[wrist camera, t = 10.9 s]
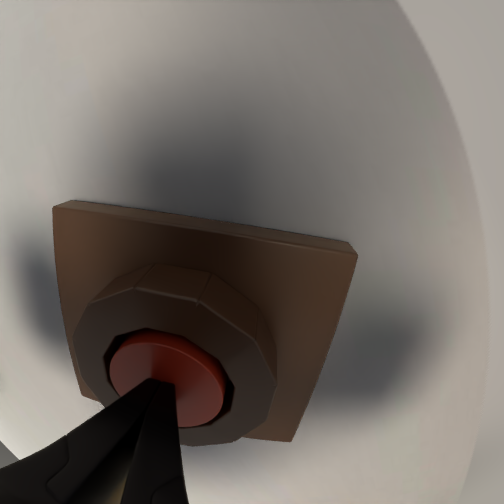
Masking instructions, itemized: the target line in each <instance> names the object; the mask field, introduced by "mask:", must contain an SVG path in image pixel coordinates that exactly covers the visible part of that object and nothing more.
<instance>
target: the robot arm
mask: <svg viewBox="0 0 504 504" xmlns="http://www.w3.org/2000/svg"><path fill="white" fill-rule="evenodd" d="M0 504H189V502H188V497H187V492H186V487H185V480H184V473H183V465H182V457H181V448H180V438H179V428H178V416H177V403H176V389H175V384H174V383H170V382H165V381H162V382H161V381H160V380H157V379H153V378H147V379H145V380H144V381H142V382H141V383H140V384H138V385H137V386H135V387H134V388H133V389H131V390H130V391H128V392H127V393H126V394H124V395H123V396H121V397H120V398H119V399H117V400H116V401H114V402H113V403H111V404H110V405H109V406H107V407H106V408H104V409H103V410H101V411H100V412H99V413H97V414H96V415H94V416H93V417H91V418H90V419H88V420H87V421H85V422H84V423H83V424H81V425H80V426H78V427H77V428H75V429H74V430H72V431H71V432H69V433H68V434H67V436H66V435H64V436H63V437H61V438H60V439H58V440H57V441H55V442H54V443H52V444H50V445H49V446H47V447H45V448H44V449H42V450H40V451H38V452H36V453H34V454H32V455H30V456H28V457H26V458H24V459H21V460H19V461H17V462H15V463H12V464H10V465H8V466H5V467H3V468H1V469H0Z"/></svg>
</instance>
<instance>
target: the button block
mask: <svg viewBox="0 0 504 504" xmlns="http://www.w3.org/2000/svg"><path fill="white" fill-rule="evenodd" d="M52 214H53V238H54V252H55V263H56V273H57V281H58V289H59V296H60V303H61V309H62V315H63V321H64V326H65V331H66V336H67V341H68V345H69V350H70V354H71V358H72V362H73V366H74V370H75V374H76V377H77V381H78V385H79V388H80V391H81V395H82V396H85V397H87V398H90V399H92V400H95V401H98V402H101V404H102V405H103V406H104V407H105V408H106V407H107V406H109V405H110V404H111V403H113V402H114V401H116V400H117V399H119V398H120V395H119V394H118V392H117V391H116V389H115V387H114V385H113V383H112V381H111V377H110V363H111V360H112V358H113V356H114V354H115V353H116V351H117V350H118V348H119V347H120V345H121V344H122V342H123V341H124V340H125V338H126V337H127V335H128V334H129V332H132V331H136V330H140V329H143V328H150V329H154V330H158V331H163V332H167V333H172V334H176V335H181V336H184V337H186V338H187V339H188V340H190V341H191V342H193V343H194V344H196V345H197V346H199V347H200V348H202V349H203V350H205V351H206V352H208V353H209V354H211V355H212V356H214V357H215V358H217V359H218V360H219V361H220V363H221V365H222V366H223V368H224V370H225V371H226V373H227V375H228V378H227V384H226V389H225V394H224V400H223V404H222V408H221V410H220V412H219V413H218V414H217V415H216V416H215V417H214V418H213V419H212V420H210V421H208V422H206V423H204V424H201V425H198V426H192V427H178V428H179V438H180V444H182V445H187V446H205V445H215V444H224V443H232V442H233V441H236V440H238V439H240V438H241V437H245V438H253V439H261V440H271V441H282V442H291V441H292V439H293V437H294V435H295V433H296V430H297V428H298V426H299V424H300V421H301V419H302V417H303V414H304V412H305V410H306V407H307V405H308V403H309V400H310V398H311V395H312V393H313V390H314V388H315V385H316V383H317V380H318V378H319V375H320V372H321V370H322V367H323V364H324V362H325V359H326V356H327V354H328V351H329V348H330V345H331V342H332V339H333V337H334V334H335V331H336V328H337V325H338V322H339V319H340V316H341V313H342V309H343V306H344V303H345V300H346V297H347V293H348V290H349V287H350V283H351V280H352V276H353V273H354V269H355V266H356V262H357V259H358V254H357V253H356V251H355V250H354V249H353V247H352V246H351V245H350V244H349V243H347V242H342V241H336V240H331V239H325V238H319V237H314V236H308V235H302V234H296V233H291V232H285V231H279V230H273V229H267V228H261V227H255V226H249V225H242V224H236V223H230V222H223V221H217V220H211V219H204V218H197V217H191V216H184V215H177V214H170V213H164V212H157V211H149V210H142V209H135V208H128V207H120V206H113V205H105V204H97V203H90V202H82V201H73V200H70V201H67V202H64V203H62V204H59V205H56V206H53V208H52Z"/></svg>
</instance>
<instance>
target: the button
mask: <svg viewBox="0 0 504 504" xmlns="http://www.w3.org/2000/svg"><path fill="white" fill-rule="evenodd" d="M110 377H111V381H112V383H113V385H114V387H115V389H116V391H117V392H118V394H119V395H120V397H121V396H123V395H124V394H126V393H127V392H128V391H130V390H131V389H133V388H134V387H135V386H137V385H138V384H140V383H141V382H142V381H144V380H145V379H147V378H153V379H157V380H160V381H161V382H162V381H165V382H170V383H174V384H175V389H176V403H177V416H178V427H192V426H198V425H201V424H204V423H206V422H208V421H210V420H212V419H213V418H214V417H215V416H216V415H217V414H218V413H219V412H220V410H221V408H222V404H223V400H224V394H225V389H226V384H227V378H228V375H227V373H226V371H225V370H224V368H223V366H222V365H221V363H220V361H219V360H218V359H217V358H215V357H214V356H212V355H211V354H209V353H208V352H206V351H205V350H203V349H202V348H200V347H199V346H197V345H196V344H194V343H193V342H191V341H190V340H188V339H187V338H186V337H184V336H181V335H176V334H172V333H167V332H163V331H158V330H154V329H150V328H143V329H140V330H136V331H132V332H129V334H128V335H127V337H126V338H125V340H124V341H123V342H122V344H121V345H120V347H119V348H118V350H117V351H116V353H115V354H114V356H113V358H112V360H111V363H110Z"/></svg>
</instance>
